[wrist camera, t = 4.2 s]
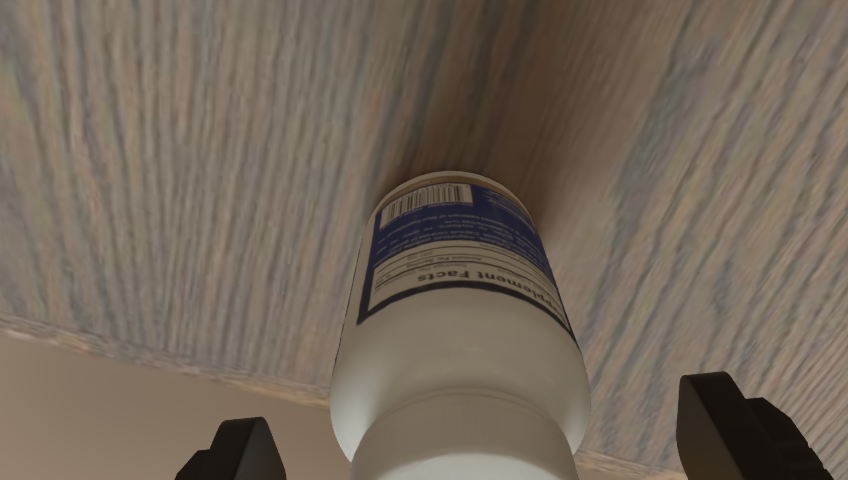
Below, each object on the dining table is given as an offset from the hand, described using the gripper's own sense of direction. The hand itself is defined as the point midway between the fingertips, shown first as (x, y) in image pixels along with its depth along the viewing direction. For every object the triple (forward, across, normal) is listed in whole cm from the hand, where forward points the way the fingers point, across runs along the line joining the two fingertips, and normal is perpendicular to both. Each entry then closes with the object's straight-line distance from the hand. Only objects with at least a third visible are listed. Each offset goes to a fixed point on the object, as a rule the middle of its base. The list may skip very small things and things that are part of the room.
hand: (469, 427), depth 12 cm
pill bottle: (+8, 0, 0) cm, 8 cm away
